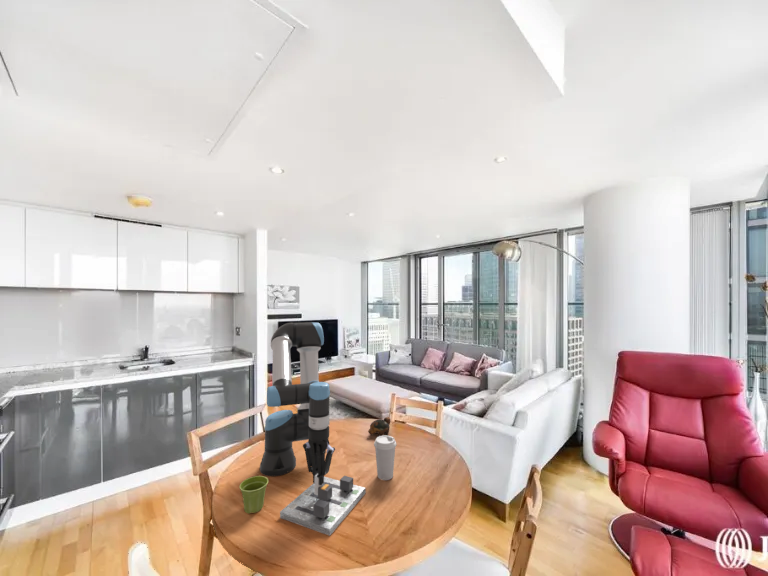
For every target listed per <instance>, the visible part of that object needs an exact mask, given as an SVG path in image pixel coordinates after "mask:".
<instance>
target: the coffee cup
mask: <svg viewBox="0 0 768 576" xmlns="http://www.w3.org/2000/svg"><path fill="white" fill-rule="evenodd" d="M373 445H374V446H373V447H374V448H375V460H376V474H377V478H378V479H379V480H381V481H389V480H391V479H393V477H394V469H395V468H394V467H395V466H394V465H395V454H396V446H397V442H396V440H395V437H393V436H391V435H382V436H380V435H378V436H377V437H376V438H375V440H374V443H373Z"/></svg>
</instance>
